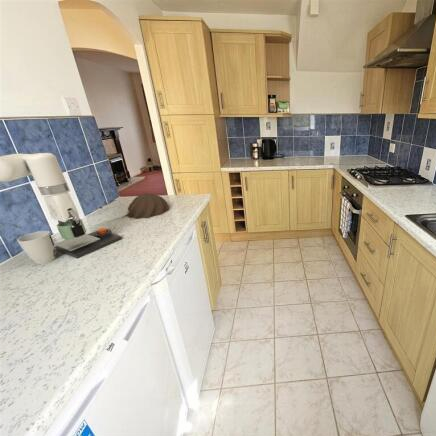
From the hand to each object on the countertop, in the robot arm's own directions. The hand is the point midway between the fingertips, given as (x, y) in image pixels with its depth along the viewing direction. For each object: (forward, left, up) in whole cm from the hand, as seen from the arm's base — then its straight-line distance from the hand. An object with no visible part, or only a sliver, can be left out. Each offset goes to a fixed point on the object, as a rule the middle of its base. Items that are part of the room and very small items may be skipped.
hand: (74, 233), depth 93 cm
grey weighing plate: (0, 0, -4) cm, 4 cm away
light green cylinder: (0, 0, -1) cm, 1 cm away
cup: (-2, -10, -7) cm, 12 cm away
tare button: (0, +9, -4) cm, 10 cm away
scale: (0, +3, -7) cm, 7 cm away
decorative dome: (-11, +37, -7) cm, 40 cm away
